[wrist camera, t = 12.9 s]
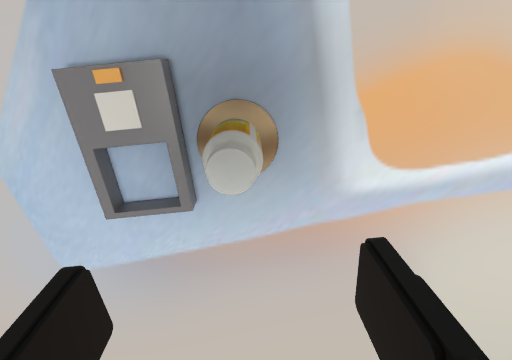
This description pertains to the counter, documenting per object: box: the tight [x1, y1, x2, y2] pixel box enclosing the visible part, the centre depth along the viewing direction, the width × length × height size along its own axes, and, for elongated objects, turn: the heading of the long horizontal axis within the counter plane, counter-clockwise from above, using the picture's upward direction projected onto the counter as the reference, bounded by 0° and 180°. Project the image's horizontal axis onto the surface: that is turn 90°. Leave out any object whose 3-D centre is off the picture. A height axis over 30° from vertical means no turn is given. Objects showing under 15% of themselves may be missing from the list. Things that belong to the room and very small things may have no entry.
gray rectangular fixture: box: [51, 59, 196, 219], centre depth 29 cm, size 16×10×3 cm, turn 5°
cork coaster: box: [197, 100, 278, 173], centre depth 30 cm, size 9×9×1 cm
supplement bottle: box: [202, 118, 263, 195], centre depth 25 cm, size 5×5×10 cm
